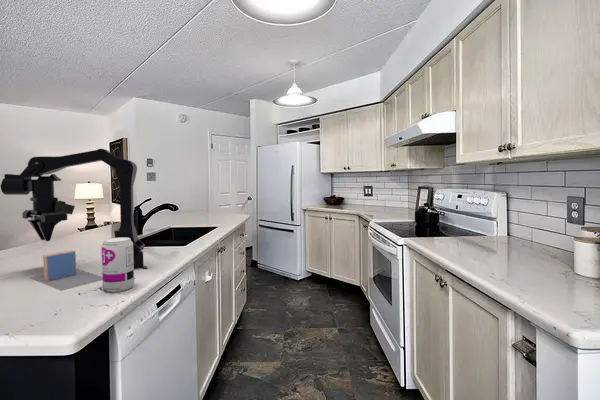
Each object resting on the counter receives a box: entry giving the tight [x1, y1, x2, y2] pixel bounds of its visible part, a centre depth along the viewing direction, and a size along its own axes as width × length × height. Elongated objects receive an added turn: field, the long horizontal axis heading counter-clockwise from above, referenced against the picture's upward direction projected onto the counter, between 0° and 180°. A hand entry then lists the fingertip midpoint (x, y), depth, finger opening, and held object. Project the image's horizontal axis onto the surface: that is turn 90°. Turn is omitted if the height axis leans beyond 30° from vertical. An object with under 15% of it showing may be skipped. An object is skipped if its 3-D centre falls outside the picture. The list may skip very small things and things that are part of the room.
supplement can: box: [101, 237, 135, 293], centre depth 95 cm, size 8×8×15 cm
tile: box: [42, 249, 77, 281], centre depth 102 cm, size 3×8×8 cm, turn 149°
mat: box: [29, 268, 103, 291], centre depth 102 cm, size 22×13×1 cm, turn 59°
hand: (45, 240), depth 107 cm, fingers open, 3 cm apart
